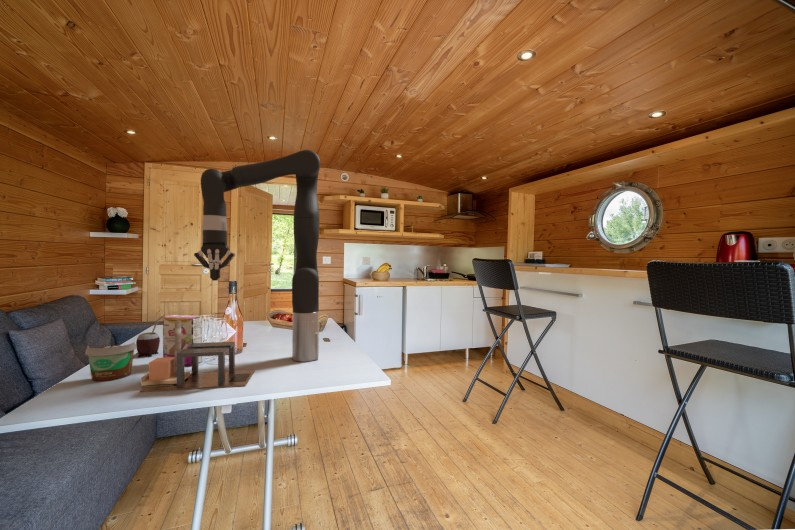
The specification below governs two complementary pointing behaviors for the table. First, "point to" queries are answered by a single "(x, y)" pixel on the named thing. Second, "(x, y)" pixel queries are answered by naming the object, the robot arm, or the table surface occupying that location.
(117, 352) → the food container
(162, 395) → the table surface
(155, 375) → the block
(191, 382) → the tunnel
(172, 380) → the sled
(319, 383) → the table surface
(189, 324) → the candy bar box
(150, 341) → the mate gourd
